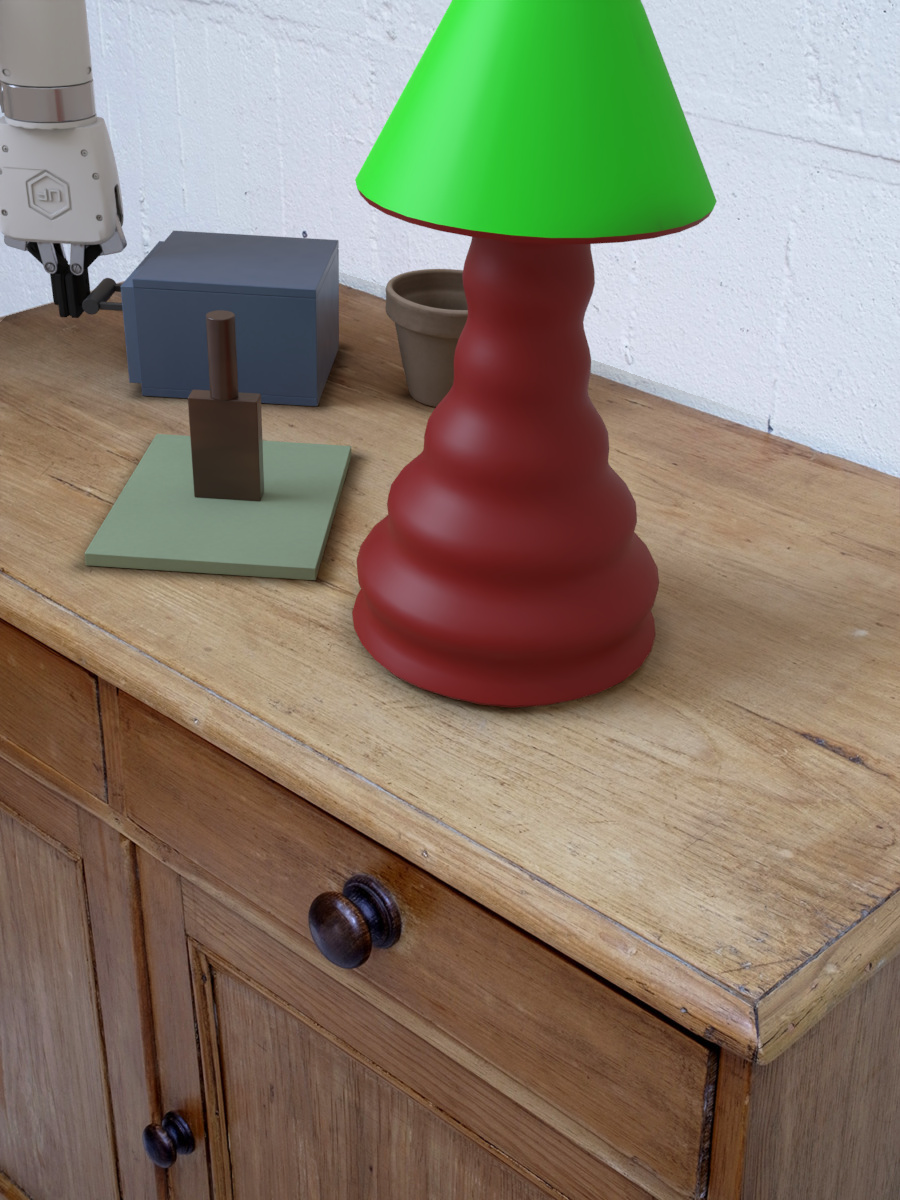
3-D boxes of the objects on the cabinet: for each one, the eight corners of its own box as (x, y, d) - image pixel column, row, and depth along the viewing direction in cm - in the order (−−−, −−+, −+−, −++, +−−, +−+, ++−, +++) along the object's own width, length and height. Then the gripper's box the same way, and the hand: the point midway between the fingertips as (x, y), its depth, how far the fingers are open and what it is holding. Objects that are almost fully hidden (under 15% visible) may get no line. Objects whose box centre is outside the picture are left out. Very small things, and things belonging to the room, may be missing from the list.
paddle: (193, 498, 98) (181, 317, 90) (199, 486, 99) (187, 307, 92) (260, 503, 98) (253, 321, 90) (265, 491, 99) (258, 312, 92)
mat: (85, 565, 91) (84, 553, 90) (157, 444, 108) (156, 433, 107) (315, 580, 90) (315, 568, 90) (351, 456, 107) (351, 445, 107)
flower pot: (536, 398, 119) (545, 290, 114) (450, 432, 112) (455, 319, 107) (444, 362, 126) (448, 259, 121) (357, 392, 119) (358, 284, 113)
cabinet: (142, 396, 116) (131, 278, 111) (180, 338, 129) (173, 230, 123) (317, 406, 116) (316, 289, 110) (339, 347, 128) (338, 239, 123)
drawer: (76, 379, 116) (64, 282, 112) (117, 327, 128) (108, 237, 123) (291, 393, 116) (289, 296, 111) (314, 339, 127) (312, 249, 123)
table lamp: (421, 528, 97) (445, -177, 74) (684, 587, 92) (799, -157, 68) (299, 665, 81) (280, -176, 58) (607, 747, 76) (724, -151, 52)
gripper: (-56, 106, 108) (-22, 322, 117) (125, 116, 107) (144, 331, 117) (-22, 89, 114) (7, 295, 124) (148, 98, 114) (164, 304, 123)
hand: (73, 312), depth 120 cm, fingers closed
